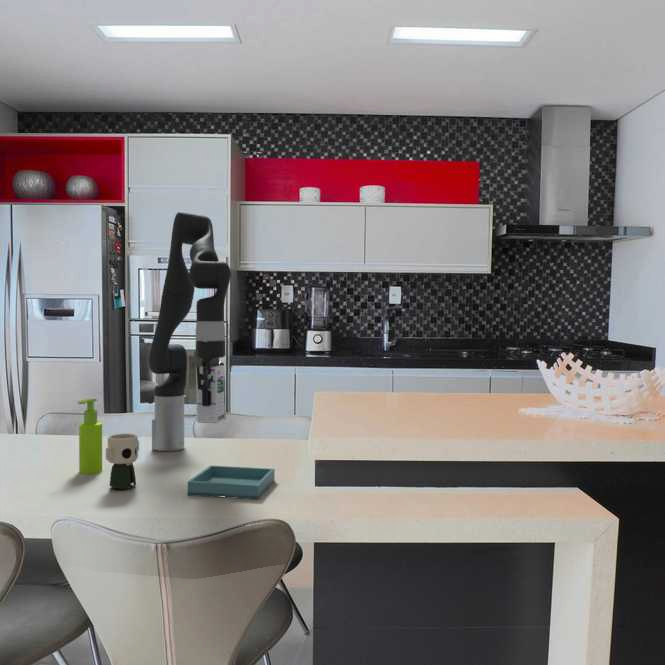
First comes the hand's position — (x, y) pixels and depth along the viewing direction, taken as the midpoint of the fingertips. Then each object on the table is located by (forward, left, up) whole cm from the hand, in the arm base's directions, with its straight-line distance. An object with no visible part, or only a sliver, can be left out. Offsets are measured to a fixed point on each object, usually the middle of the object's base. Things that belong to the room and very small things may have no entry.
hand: (211, 403), depth 161 cm
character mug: (-20, -9, -21) cm, 30 cm away
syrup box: (0, 0, -5) cm, 5 cm away
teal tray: (+7, -4, -20) cm, 22 cm away
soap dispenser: (-36, +3, -21) cm, 41 cm away
